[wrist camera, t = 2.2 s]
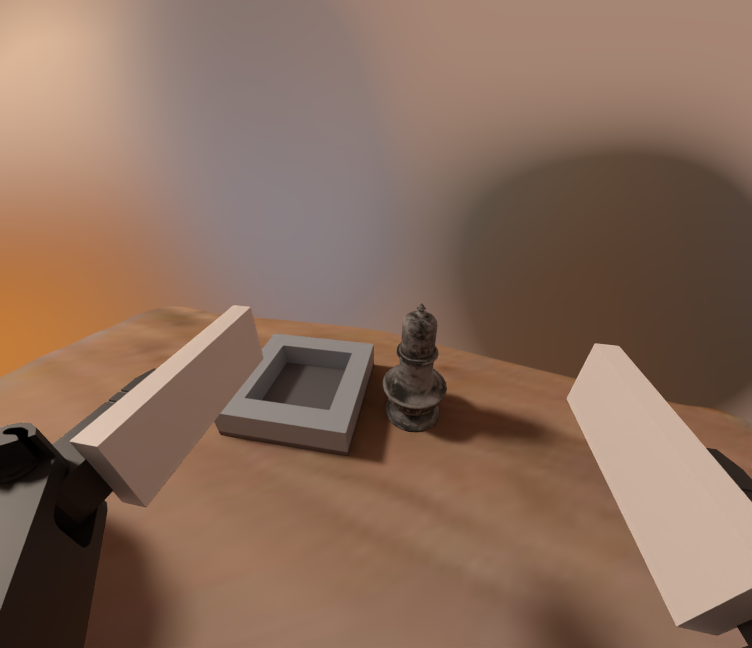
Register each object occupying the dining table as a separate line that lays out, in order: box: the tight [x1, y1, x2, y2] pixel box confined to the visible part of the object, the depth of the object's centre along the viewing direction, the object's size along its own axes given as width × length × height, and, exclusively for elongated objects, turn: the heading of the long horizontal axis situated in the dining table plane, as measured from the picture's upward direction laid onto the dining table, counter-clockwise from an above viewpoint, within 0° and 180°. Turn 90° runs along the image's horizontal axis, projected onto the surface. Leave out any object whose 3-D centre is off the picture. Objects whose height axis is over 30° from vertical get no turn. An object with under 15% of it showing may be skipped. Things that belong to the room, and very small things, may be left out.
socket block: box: [214, 334, 374, 456], centre depth 30 cm, size 12×12×3 cm
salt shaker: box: [383, 304, 447, 432], centre depth 26 cm, size 6×6×12 cm
